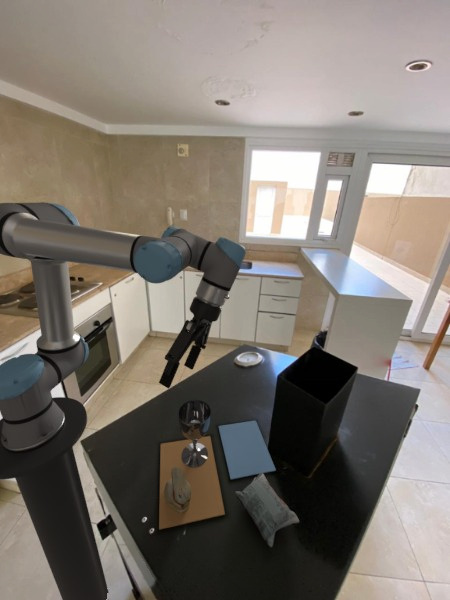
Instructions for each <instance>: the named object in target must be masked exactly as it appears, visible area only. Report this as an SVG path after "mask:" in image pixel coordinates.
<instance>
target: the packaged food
mask: <svg viewBox="0 0 450 600" xmlns="http://www.w3.org/2000/svg"><path fill="white" fill-rule="evenodd" d="M234 494H235V496H236V498H237V499H238V501H239V502H240V504H241V505H242V507H243V508H244V510H245V511H246V512H247V514H248V515H249V517H250V518H251V519H252V521H253V523H254V524H255V526H256V528H257V529H258V532H259V533H260V535H261V537H262V538H263V540H264V541H265V543H266V544H267V545H268V546H269V547H270V548H273V546H274V542H275V535H276V532H277V531H279V530H280V529H283V528H285V527H288V526H291V525H293V524H298V523H300V520H299V518H298V516H297V514H296V513H295V512H294V511H293V510H291V509H290V508H289V506H288V505H287V504H286V502H284V500H283V499H282V498H280V497H279V496H278V493H276V491H275V490H274V488H273V487H272V486H271V485H270V483H269V481H268V479H267V478H266V476H265V473H263V471H261V473H260V474H257V476H255V477H254V478H253V480H252V481H251V483H250V484H248V485H247V486H246V487H245V488H244V489H243V490H242V491H238V490H237V491H236V490H235V491H234Z"/></svg>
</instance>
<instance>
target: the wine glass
mask: <svg viewBox="0 0 450 600" xmlns="http://www.w3.org/2000/svg"><path fill="white" fill-rule="evenodd" d="M211 418H212V409H211V407H210V406H209V404H208V403H207V402H205V401H203V400H200V399H199V400H198V399H193V400H189V401H186V402H185V403H183V404H182V405H180V408H179V409H178V425H179V428H180V431H181V433H182V435H183V436H184V437H185V438H186V439H187V440H188V439H190V440H192V441H193V443H191V444H189V445H187V446H186V447H185V448H184V449H183V451H182V455H181V458H182V461H183V463H184V464H185V465H186V466H188V467H191V468H196V467H200V466H201V465H203V464H204V463H205V462H206V460H207V458H208V451H207V449H206V447H205V446H204V445H202V444H200V443H197V440H198V439H200V438H202V437H205V436H206V434H207V433H208V431H209V427H210V424H211V420H212V419H211Z"/></svg>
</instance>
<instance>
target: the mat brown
mask: <svg viewBox="0 0 450 600" xmlns="http://www.w3.org/2000/svg"><path fill="white" fill-rule="evenodd" d="M191 443H193V441H192V440H190V439H188V438H187V439H182V440H175V441H169V442H162V443H160V451H159V452H160V457H159V458H160V459H159V460H160V461H159V463H160V464H159V503H158V504H159V507H158V509H159V510H158V530H163V529H169V528H172V527H178V526H182V525H186V524H190V523H194V522H199V521H203V520H204V521H205V520H208V519H212V518H216V517H221V516H225V515H226V513H225V507H224V502H223V501H224V500H223V497H222V492H221V486H220V481H219V475H218V469H217V465H216V460H215V454H214V448H213V444H212V443H213V442H212V438H211V435H208V436H203V437H202V438H200V439H198V440H197V443H200V444H202V445H204V446H205V447H206V449H207V451H208V458H207V460H206V462H205V463H204V464H203V465H201V466H200V467H196V468H191V467H188V466H186V465H185V464H184V463H183V461H182V458H181V455H182V451H183V449H184V448H185V447H186V446H187V445H189V444H191ZM173 467H176V468H178V467H179V468H181V469H182V471H183V473H184V476H185V479H186V480H187V481H188V483H189V485H190V487H191V499H190V502H189V503H190V504H189V508H188V510H187V511H186V512H185V513H177V512H176V511H174V510H172V509H171V508H170V507H169V505H168V503H167V501H166V499H165V486H166V483H167V482H168V481H169V480H170V479H172V468H173Z"/></svg>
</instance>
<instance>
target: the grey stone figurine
mask: <svg viewBox="0 0 450 600" xmlns="http://www.w3.org/2000/svg"><path fill="white" fill-rule="evenodd" d="M165 499H166V501H167V503H168V505H169V507H170V508H171V509H172V510H174V511H176V512H177V513H185V512H186V511H187V510H188V508H189V504H190V503H189V502H190V499H191V487H190V485H189V483H188V481H187V480H186V479H185V476H184V473H183V471H182V469H181V468H179V467H178V468H176V467H173V468H172V479H170V480H169V481H168V482H167V483H166V486H165Z"/></svg>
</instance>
